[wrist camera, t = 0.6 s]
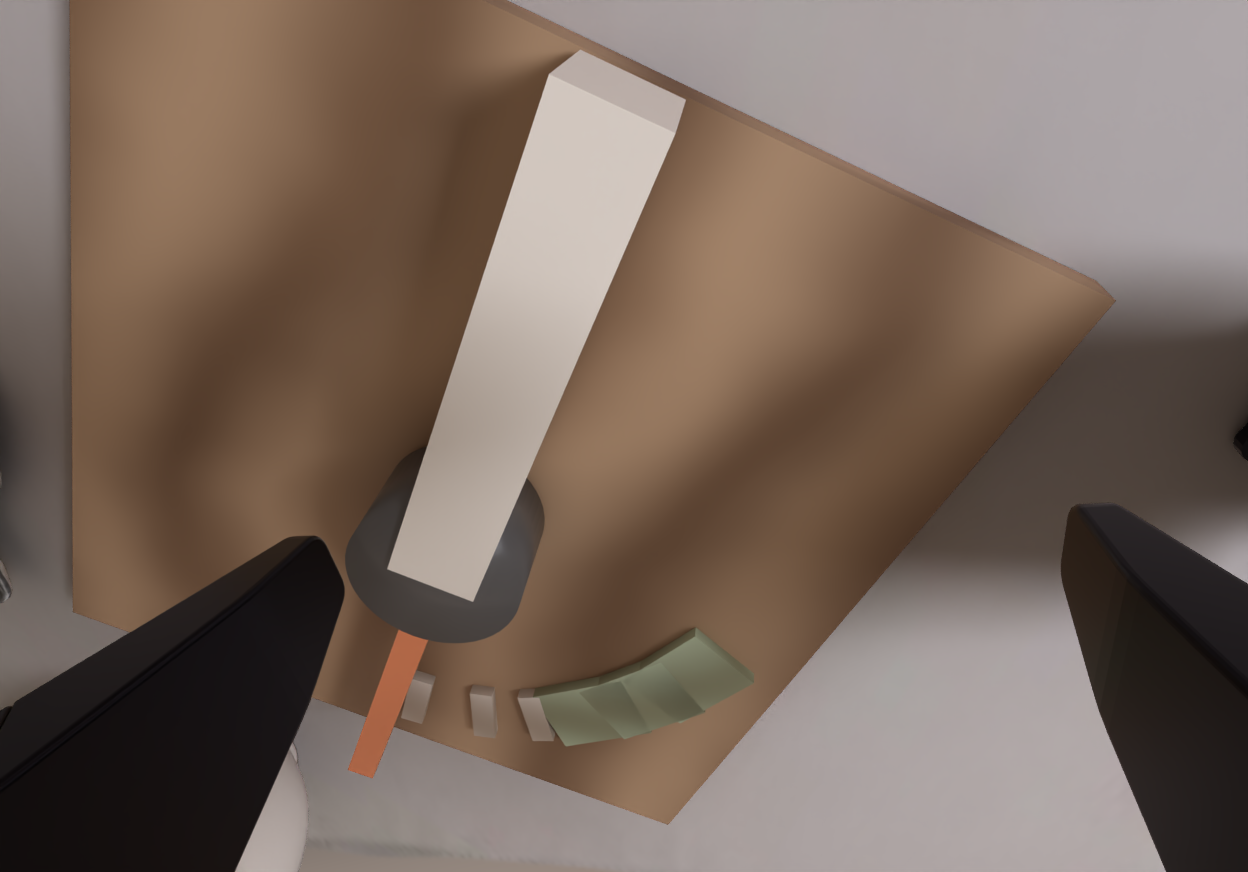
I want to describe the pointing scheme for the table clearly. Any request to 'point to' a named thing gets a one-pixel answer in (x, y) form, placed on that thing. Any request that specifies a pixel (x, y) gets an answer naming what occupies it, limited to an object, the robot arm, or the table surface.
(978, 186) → the table surface
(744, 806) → the table surface
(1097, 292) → the cutting board
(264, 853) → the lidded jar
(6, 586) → the salad plate
